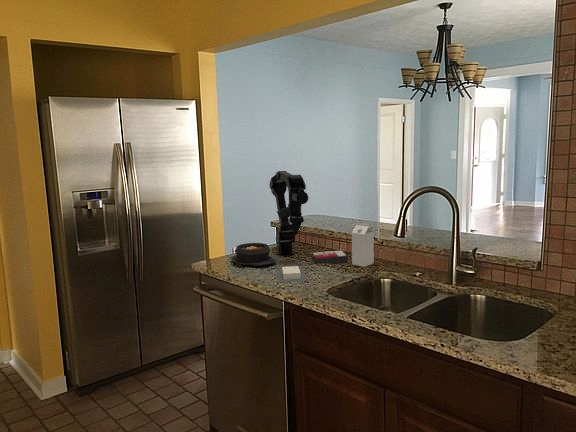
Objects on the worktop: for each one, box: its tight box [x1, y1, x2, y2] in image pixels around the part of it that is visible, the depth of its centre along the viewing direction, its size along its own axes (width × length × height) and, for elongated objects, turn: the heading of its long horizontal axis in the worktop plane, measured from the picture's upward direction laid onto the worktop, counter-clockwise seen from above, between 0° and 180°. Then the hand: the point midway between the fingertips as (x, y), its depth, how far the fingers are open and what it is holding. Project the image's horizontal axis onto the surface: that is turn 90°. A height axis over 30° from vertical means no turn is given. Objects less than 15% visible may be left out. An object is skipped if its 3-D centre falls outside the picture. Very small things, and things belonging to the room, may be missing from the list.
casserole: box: [230, 242, 277, 267], centre depth 226 cm, size 25×19×8 cm
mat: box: [275, 267, 308, 283], centre depth 204 cm, size 20×12×1 cm, turn 4°
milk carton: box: [351, 222, 375, 268], centre depth 218 cm, size 7×7×19 cm
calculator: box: [311, 250, 348, 265], centre depth 227 cm, size 11×4×15 cm
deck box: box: [281, 265, 301, 280], centre depth 202 cm, size 3×7×11 cm
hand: (295, 234), depth 226 cm, fingers closed
